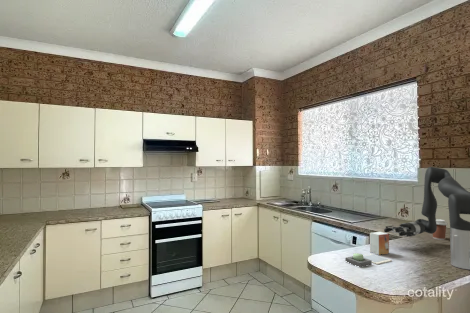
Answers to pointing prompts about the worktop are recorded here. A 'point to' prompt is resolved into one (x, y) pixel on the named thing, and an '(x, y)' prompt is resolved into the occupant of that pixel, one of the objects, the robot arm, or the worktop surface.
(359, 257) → the button
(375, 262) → the paper pad
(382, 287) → the worktop surface
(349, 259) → the button housing
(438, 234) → the coffee cup
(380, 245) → the small box
